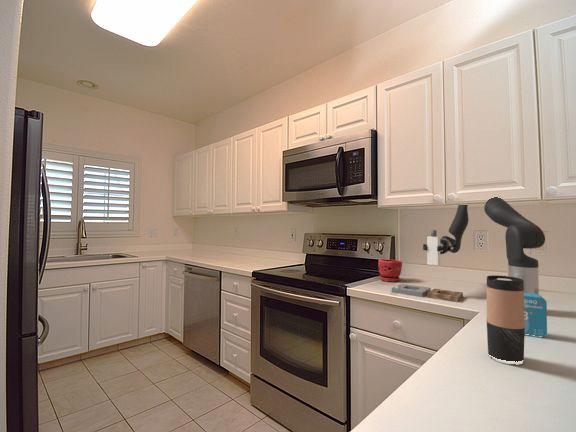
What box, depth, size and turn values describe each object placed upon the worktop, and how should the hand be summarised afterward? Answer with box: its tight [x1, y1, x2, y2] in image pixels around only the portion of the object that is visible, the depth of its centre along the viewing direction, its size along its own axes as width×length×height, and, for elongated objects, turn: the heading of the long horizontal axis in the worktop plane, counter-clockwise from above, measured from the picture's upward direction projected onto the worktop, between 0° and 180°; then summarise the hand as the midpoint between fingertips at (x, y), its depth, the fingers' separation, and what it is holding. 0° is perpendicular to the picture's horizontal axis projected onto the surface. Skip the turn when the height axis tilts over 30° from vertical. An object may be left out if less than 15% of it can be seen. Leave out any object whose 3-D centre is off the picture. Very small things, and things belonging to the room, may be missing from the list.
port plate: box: [391, 283, 432, 298], centre depth 144 cm, size 14×14×3 cm
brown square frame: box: [426, 288, 464, 303], centre depth 134 cm, size 12×12×2 cm
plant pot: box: [377, 258, 403, 283], centre depth 173 cm, size 13×13×12 cm
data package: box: [524, 293, 548, 338], centre depth 91 cm, size 12×4×12 cm, turn 60°
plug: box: [426, 229, 441, 266], centre depth 138 cm, size 4×4×16 cm
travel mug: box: [486, 274, 526, 362], centre depth 74 cm, size 8×8×20 cm
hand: (432, 248), depth 136 cm, fingers closed on plug, 4 cm apart
